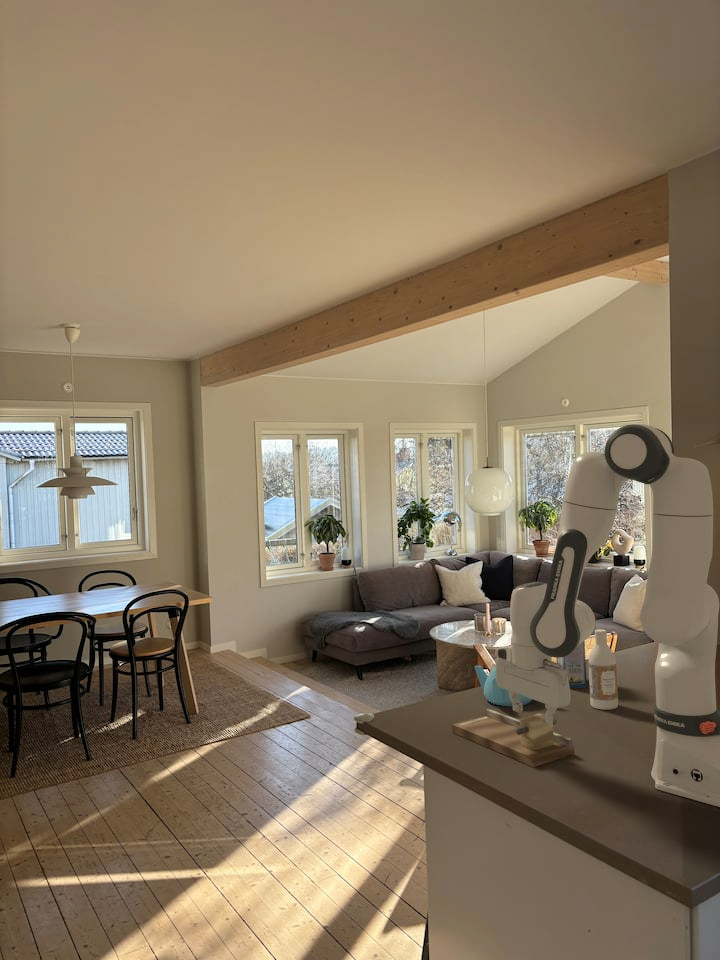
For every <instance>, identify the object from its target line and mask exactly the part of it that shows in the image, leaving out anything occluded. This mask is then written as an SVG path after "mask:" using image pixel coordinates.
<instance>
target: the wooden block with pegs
mask: <svg viewBox="0 0 720 960" xmlns="http://www.w3.org/2000/svg"><path fill="white" fill-rule="evenodd" d="M542 715H543V713H541V712H540V713H536V714H532V715H529V716H525V717H524V716H523V717H521V718H519V720H520V728H516V733H517V735H520V734H521V746H523V747H526V748H528V749H531V750H533V751H535V750H538V749H541V748H544V747H548V746H551V745H554V737H553V732H554V725H557V723H558V721H557V719H556V717H553V723H551V724H546V723H544V722H543V721H542V719H543V718H542Z"/></svg>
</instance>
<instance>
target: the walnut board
mask: <svg viewBox="0 0 720 960" xmlns="http://www.w3.org/2000/svg"><path fill="white" fill-rule="evenodd" d="M451 725H452V733H453V734H455V735H457V736H460V737H462V738H464V739H467V740H469V741H472V742H473V741H474V743H476V744H478V745H480V744H481V745H480V746H483V747H485V748H487V747H488V749H490V750H493V751H494V750H495V751H494V752H497V753H500V754H501V753H502V755H503V756H507V757H508V756H509V758H510V759H513V758H514V759H513V760H515V759H516V760H515V761H518V762H520V763H522V762H523V763H522V764H525V765H527V766H529V765H530V767H532V768H537V767H539V765H540V766H542V764H543V765H545V763H546V764H549V763H552V762H555V761H558V760H561V759H564V758H563V757H565V758H567V757H566V756H568V757H570V756H569V755H571V756H574V755H575V745H574V744H573V739H572V738H570V737H567V736H565V735H562V734H559V733H557V732H554V731H553V737H554V745H551V746H548V747H544V748H541V749H538V750H535V751H533V750H531V749H528V748H526V747H523V746H521V734H520V735H517V733H516V728H520V719H518V718H514V717H513V716H509V715H507V714H503V713H500V712H498V711H496V710H493V709H490V708H487V709H485V715H482V716H479V717H474V718H472V719H468V720H464V721H461V722H457V723H453V724H451ZM573 754H574V755H573ZM557 759H558V760H557ZM554 760H555V761H554ZM551 761H552V762H551ZM548 762H549V763H548ZM536 766H537V767H536Z"/></svg>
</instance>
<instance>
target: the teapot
mask: <svg viewBox="0 0 720 960" xmlns="http://www.w3.org/2000/svg"><path fill="white" fill-rule="evenodd" d="M474 670H475V673H476V676H477V678H478V681H479V684H480V687H481V690H482V691H483V696H484V697H485V698H486V700H487V701H488V702H491V703H490V704H492V703H493V704H492V705H495V704H496V706H499V705H501V706H500V707H513V703H512V701H511V699H510V697H509V691H508V690H506V689H503V688H500V687H499V686H498V684H497V682H496V665H494V666H493V667H492V669H491V670H490V671H489V673H488V674H487V673H486V671H485V670H484V668H483V667H482V665H475V666H474ZM518 696H519V700H520V703H523V706H525V705H528V704H529V703H531V702H532V701H533V699H531V698H528V697H525V696H522V695H520V694H519V695H518Z"/></svg>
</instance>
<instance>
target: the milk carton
mask: <svg viewBox="0 0 720 960" xmlns="http://www.w3.org/2000/svg"><path fill="white" fill-rule="evenodd" d="M585 641H586V640H585ZM585 641H584V642H582V643H581V644H580V645H578V646H577V647H576V648H575V649H574V650H573V651H572V652H571V653H570V654H569V655H567V656H565V657H560V658H556V663H560V664H562V666H563V667H564V669H565V670H566V671H567V677H568V681H569V688H570V689H571V688H573V689H575V688H588V684H587V662H586V644H585V643H586V642H585ZM561 669H562V668H561Z"/></svg>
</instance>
